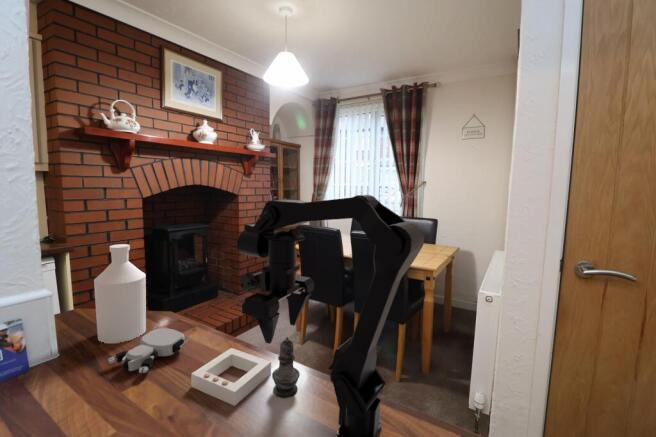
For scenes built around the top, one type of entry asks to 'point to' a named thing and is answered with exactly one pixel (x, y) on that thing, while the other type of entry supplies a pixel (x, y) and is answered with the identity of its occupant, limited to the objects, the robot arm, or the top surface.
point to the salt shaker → (285, 372)
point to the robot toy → (151, 349)
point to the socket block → (225, 389)
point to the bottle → (120, 299)
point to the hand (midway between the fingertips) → (281, 333)
